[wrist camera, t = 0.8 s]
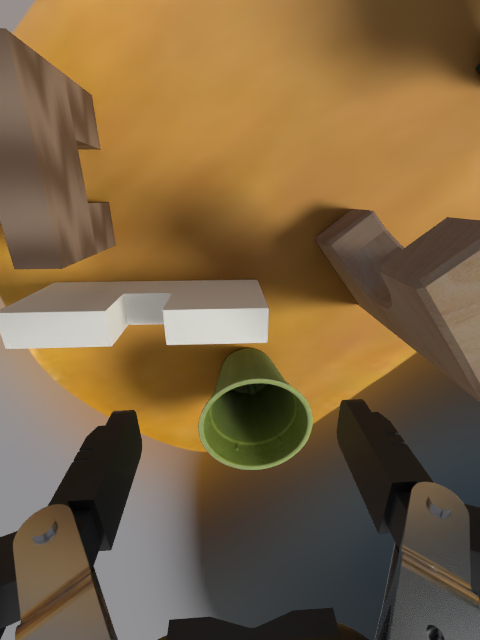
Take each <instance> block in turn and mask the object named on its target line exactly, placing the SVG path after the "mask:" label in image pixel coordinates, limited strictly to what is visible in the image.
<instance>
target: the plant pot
mask: <svg viewBox="0 0 480 640" xmlns="http://www.w3.org/2000/svg"><path fill="white" fill-rule="evenodd" d="M239 386H241V387H243V388H242V389H241V388H238V387H239ZM312 424H313V418H312V412H311V408H310V406H309V404H308V402H307V400H306V399H305V398H304V396H303V395H302V394H301V393H300V392H299V391H297V390H296V389H295V388H293V387H292V386H290V385H289V384H288V383H287V382H286V381H285V380H284V378H283V377H282V376H281V374H280V373H279V371H278V370H277V368H276V367H275V365H274V364H273V362H272V361H271V360H270V358H269V357H268V356H267V355H266V354H265V353H263V352H262V351H260V350H257V349H252V348H244V349H242V350H239V351H236V352H233V353H231V354H230V355H229V356H228V357H227V358H226V359H225V361H224V362H223V365H222V368H221V371H220V374H219V378H218V381H217V385H216V388H215V391H214V394H213V395H212V397H211V399H210V400H209V401H208V402H207V404H206V405H205V407H204V409H203V411H202V413H201V416H200V419H199V425H198V430H199V436H200V439H201V442H202V444H203V446H204V447H205V449H206V450H207V451H208V452H209V453H210V454H211V456H213V457H214V458H215V459H217V460H218V461H220V462H221V463H223V464H226V465H228V466H231V467H235V468H238V469H245V470H256V469H265V468H269V467H272V466H276V465H278V464H281V463H283V462H285V461H286V460H288V459H289V458H291V457H293V456H294V455H295V454H296V453H297V452H299V450H300V449H301V448H302V447H303V446H304V445H305V443H306V442H307V440H308V438H309V435H310V433H311V429H312Z"/></svg>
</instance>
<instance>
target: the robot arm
mask: <svg viewBox="0 0 480 640" xmlns="http://www.w3.org/2000/svg"><path fill="white" fill-rule="evenodd" d="M337 439H338V443H339V446H340V449H341V451H342V453H343V455H344V458H345V460H346V462H347V464H348V467H349V469H350V471H351V473H352V476H353V478H354V480H355V482H356V485H357V487H358V489H359V491H360V493H361V496H362V498H363V500H364V503H365V505H366V507H367V509H368V511H369V514H370V516H371V518H372V520H373V523H374V525H375V527H376V529H377V532H378V533H379V534H384V533H391V535H392V537H393V539H394V541H395V546H394V549H393V555H392V560H391V565H390V570H389V576H388V581H387V586H386V591H385V596H384V602H383V607H382V611H381V616H380V620H379V624H378V628H377V632H376V637H375V640H480V604H479V598H478V596H477V594H476V593H475V592H474V591H472V590H475V591H478V592H480V508H479V507H475V506H470V505H467V504H464V503H463V502H462V501H461V500H460V498H459V497H457V496H456V495H455V494H454V493H453V492H451V491H450V490H449V489H447V488H445V487H443V486H441V485H439V484H436V483H434V482H433V481H432V479H431V478H430V476H429V475H428V474H427V472H426V471H425V470H424V468H423V467H422V465H421V464H420V463H419V461H418V460H417V458H416V457H415V455H414V454H413V453H412V451H411V450H410V448H409V447H408V446H407V445H406V444H405V441H404V440H403V439H402V437H401V436H400V435H398V432H397V430H396V429H395V428H394V426H393V425H392V423H391V422H390V421H389V420H388V419H386V418H385V417H384V416H383V415H381V414H380V413H379V412H371V410H370V409H369V408H368V406H367V404H366V403H365V402H364V401H363V400H362V399H353V400H342V401H341V404H340V411H339V418H338V425H337ZM141 452H142V439H141V434H140V429H139V425H138V420H137V415H136V412H135V411H134V410H125V411H114V412H112V414H111V416H110V418H109V420H108V422H107V424H106V426H98V427H97V428H96V429H95V430H94V431H92V432H91V433H90V434H89V435H88V436H87V437H86V439H85V441H84V442H83V444H82V446H81V448H80V451H79V452H78V453H77V455H76V457H75V459H74V462H73V463H72V464H71V466H70V467H69V469H68V471H67V473H66V475H65V476H64V478H63V480H62V482H61V483H60V485H59V487H58V489H57V491H56V492H55V494H54V496H53V498H52V500H51V501H50V503H49V505H48V506H47V507H45V508H43V509H41V510H39V511H38V512H36V513H34V514H33V515H32V516H31V517H29V518H28V519H27V520H26V521H25V522H24V523H23V524H22V526H21V527H20V528H19V530H18V531H16V532H14V533H11V534H8V535H5V536H3V537H0V639H1V637H2V635H3V633H4V630H5V628H6V626H8V625H11V624H13V623H15V622H17V621H20V620H21V624H20V625H18V626H17V628H16V632H15V640H118V639H117V636H116V633H115V630H114V627H113V624H112V621H111V618H110V615H109V612H108V609H107V606H106V603H105V599H104V596H103V594H102V590H101V588H100V584H99V581H98V578H97V575H96V572H95V569H94V563H95V560H96V557H97V554H98V552H99V551H106V550H111V549H112V545H113V542H114V539H115V536H116V533H117V530H118V527H119V523H120V520H121V517H122V514H123V511H124V507H125V505H126V501H127V498H128V495H129V491H130V489H131V486H132V482H133V479H134V476H135V473H136V470H137V467H138V464H139V460H140V457H141ZM471 589H472V590H471ZM158 640H369V639H368V638H367V637H365V636H364V635H363V634H361V633H359V632H358V631H356V630H354V629H352V628H350V627H348V626H346V625H343V624H340V623H337V622H336V618H335V615H334V610H333V608H323V609H310V610H296V611H291V612H289V613H287V614H285V615H283V616H280V617H278V618H276V619H274V620H272V621H269V622H267V623H265V624H263V625H261V626H258V627H256V628H248V627H244V626H241V625H237V624H233V623H230V622H226V621H223V620H219V619H216V618H212V617H202V618H188V619H174V620H169V627H168V634H167V636H164V637H162V638H160V639H158Z"/></svg>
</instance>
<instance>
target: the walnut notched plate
mask: <svg viewBox="0 0 480 640" xmlns="http://www.w3.org/2000/svg"><path fill="white" fill-rule="evenodd" d="M78 149H100V144H99V138H98V132H97V125H96V119H95V113H94V107H93V100H92V95H91V94H90V93H88V92H87V91H86V90H84V89H83V88H82V87H80V86H79V85H78V84H77V83H75V82H74V81H73V80H71V79H70V78H69V77H67V76H66V75H65V74H64V73H62V72H61V71H60V70H58V69H57V68H56V67H55V66H53V65H52V64H51V63H49V62H48V61H47V60H45V59H44V58H43V57H42V56H40V55H39V54H38V53H36V52H35V51H34V50H32V49H31V48H30V47H29V46H27V45H26V44H25V43H23V42H22V41H21V40H20V39H18V38H17V37H16V36H14V35H13V34H12V33H10V32H9V31H8V30H7V29H1V28H0V222H1V226H2V229H3V232H4V236H5V239H6V242H7V246H8V249H9V252H10V256H11V259H12V262H13V266H14V269H62V268H65V267H67V266H69V265H71V264H74V263H76V262H78V261H81V260H83V259H85V258H87V257H90V256H92V255H94V254H96V253H99V252H101V251H103V250H106V249H108V248H110V247H112V246H115V245H116V244H115V238H114V231H113V225H112V219H111V213H110V206H109V202H88V201H87V196H86V191H85V185H84V180H83V175H82V169H81V164H80V158H79V153H78Z"/></svg>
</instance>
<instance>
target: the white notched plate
mask: <svg viewBox="0 0 480 640" xmlns="http://www.w3.org/2000/svg"><path fill="white" fill-rule="evenodd" d="M268 315H269V307H268V305H267V302H266V300H265V297H264V295H263V293H262V290H261V288H260V285H259V283H258V280H191V281H119V282H55V283H53V284H51V285H49V286H47V287H45V288H43V289H41V290H39V291H37V292H35V293H33V294H31V295H29V296H27V297H25V298H23V299H21V300H19V301H17V302H15V303H13V304H11V305H9V306H7V307H5V308H3V309H1V310H0V333H1V336H2V339H3V342H4V345H5V348H6V349H22V348H64V347H106V346H113V344H114V343H115V342H116V340H117V339H118V338H119V336H120V335H121V334H122V332H123V331H124V330H125V328H126V327H127V326H128V325H144V324H164V328H165V337H166V345H191V344H233V343H267V341H268Z"/></svg>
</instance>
